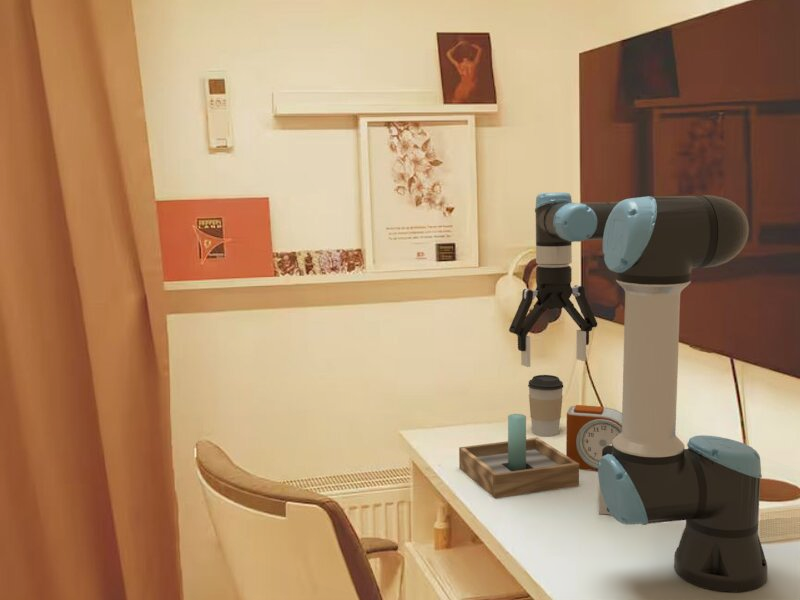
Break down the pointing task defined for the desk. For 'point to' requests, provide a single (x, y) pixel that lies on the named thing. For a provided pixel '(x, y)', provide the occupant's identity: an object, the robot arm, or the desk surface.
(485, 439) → the desk surface
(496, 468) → the socket box
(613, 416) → the alarm clock
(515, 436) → the peg
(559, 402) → the coffee cup
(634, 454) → the robot arm
